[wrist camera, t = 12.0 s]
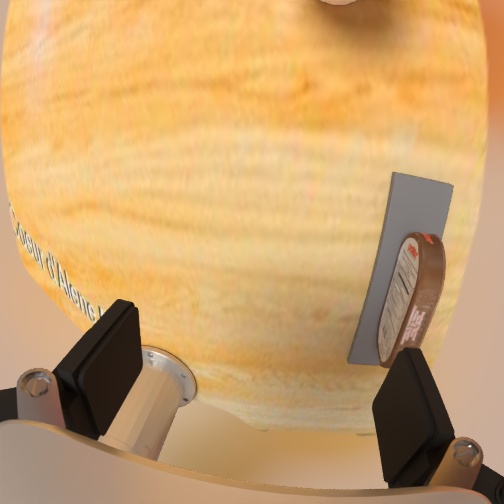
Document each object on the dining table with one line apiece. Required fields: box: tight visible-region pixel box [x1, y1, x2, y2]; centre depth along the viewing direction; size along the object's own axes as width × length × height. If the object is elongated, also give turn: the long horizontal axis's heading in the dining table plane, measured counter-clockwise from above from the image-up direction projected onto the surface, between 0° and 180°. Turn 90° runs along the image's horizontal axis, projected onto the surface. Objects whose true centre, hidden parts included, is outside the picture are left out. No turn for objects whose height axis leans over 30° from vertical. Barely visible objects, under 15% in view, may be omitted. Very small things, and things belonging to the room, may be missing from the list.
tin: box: [377, 232, 446, 368], centre depth 29 cm, size 15×3×8 cm, turn 176°
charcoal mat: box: [348, 172, 454, 365], centre depth 33 cm, size 24×7×1 cm, turn 176°
